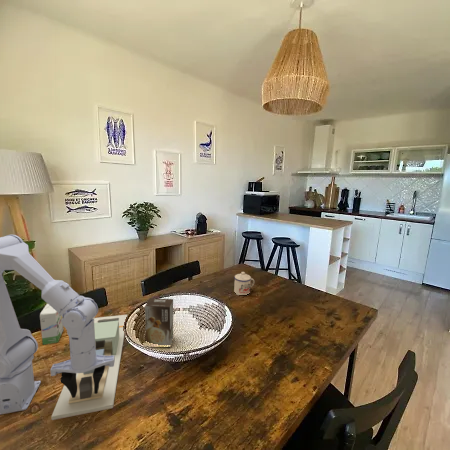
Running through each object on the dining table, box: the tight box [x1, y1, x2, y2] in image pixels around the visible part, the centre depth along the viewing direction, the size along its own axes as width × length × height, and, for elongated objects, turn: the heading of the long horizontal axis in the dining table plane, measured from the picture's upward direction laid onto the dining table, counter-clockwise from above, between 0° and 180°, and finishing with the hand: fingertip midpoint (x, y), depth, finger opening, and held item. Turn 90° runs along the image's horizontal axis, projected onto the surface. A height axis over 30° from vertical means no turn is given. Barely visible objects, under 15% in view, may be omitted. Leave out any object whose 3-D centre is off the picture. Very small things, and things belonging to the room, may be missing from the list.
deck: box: [51, 314, 128, 421], centre depth 87 cm, size 46×14×1 cm, turn 16°
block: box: [83, 349, 104, 374], centre depth 78 cm, size 5×5×4 cm
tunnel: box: [94, 320, 119, 355], centre depth 88 cm, size 10×11×8 cm
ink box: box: [39, 303, 64, 345], centre depth 94 cm, size 8×5×12 cm, turn 19°
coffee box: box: [144, 297, 174, 346], centre depth 93 cm, size 9×6×16 cm
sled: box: [68, 340, 113, 404], centre depth 78 cm, size 24×8×5 cm, turn 16°
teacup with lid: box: [233, 271, 255, 296], centre depth 138 cm, size 12×9×12 cm
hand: (85, 392), depth 68 cm, fingers open, 5 cm apart
